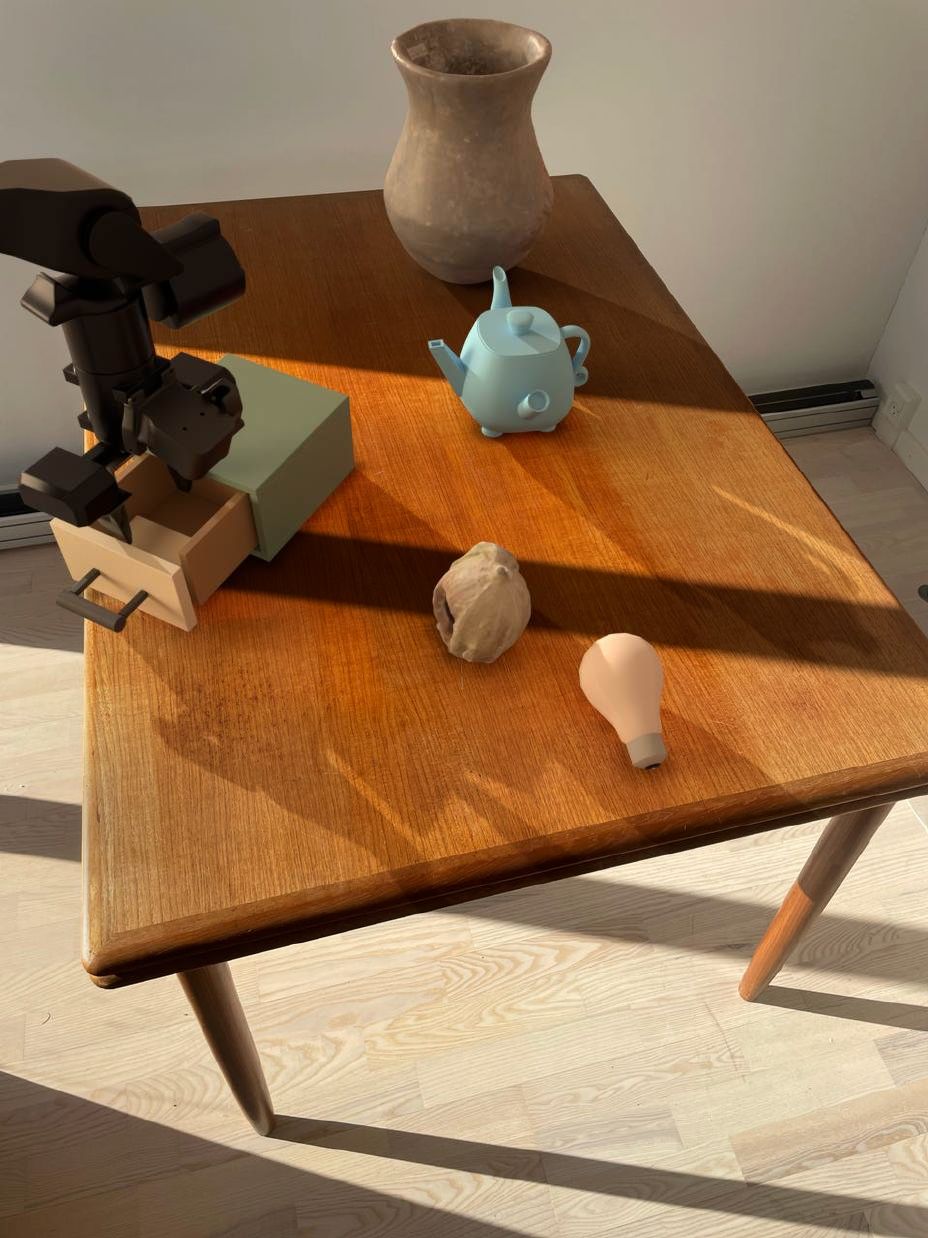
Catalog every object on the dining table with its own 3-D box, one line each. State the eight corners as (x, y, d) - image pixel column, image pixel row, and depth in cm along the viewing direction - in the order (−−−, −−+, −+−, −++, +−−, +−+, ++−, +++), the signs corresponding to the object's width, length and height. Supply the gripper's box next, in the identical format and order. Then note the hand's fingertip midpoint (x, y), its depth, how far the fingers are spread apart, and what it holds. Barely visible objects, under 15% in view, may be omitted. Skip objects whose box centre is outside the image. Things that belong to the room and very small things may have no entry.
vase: (372, 303, 113) (361, 74, 94) (400, 223, 126) (395, 6, 107) (540, 319, 112) (563, 91, 93) (551, 237, 125) (573, 20, 105)
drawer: (155, 669, 77) (135, 614, 72) (36, 612, 81) (9, 556, 75) (282, 531, 88) (272, 474, 82) (172, 486, 91) (156, 429, 86)
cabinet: (269, 562, 86) (256, 490, 80) (148, 511, 90) (125, 438, 84) (355, 467, 95) (349, 395, 88) (240, 424, 99) (227, 352, 92)
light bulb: (701, 746, 69) (651, 610, 73) (613, 771, 69) (568, 633, 73) (690, 767, 75) (645, 640, 79) (609, 790, 75) (568, 661, 79)
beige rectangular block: (208, 562, 83) (203, 542, 81) (179, 593, 81) (173, 573, 79) (143, 535, 85) (137, 514, 83) (113, 564, 83) (105, 543, 81)
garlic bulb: (467, 616, 86) (474, 513, 81) (550, 648, 82) (563, 541, 77) (403, 660, 79) (407, 549, 74) (490, 697, 75) (500, 583, 70)
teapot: (412, 413, 100) (411, 317, 92) (491, 354, 108) (497, 260, 99) (532, 477, 95) (543, 380, 86) (608, 409, 102) (624, 314, 93)
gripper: (113, 461, 61) (161, 625, 72) (283, 322, 72) (301, 484, 84) (-20, 406, 64) (47, 572, 75) (163, 282, 75) (196, 443, 87)
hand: (156, 515), depth 80 cm, fingers open, 7 cm apart
